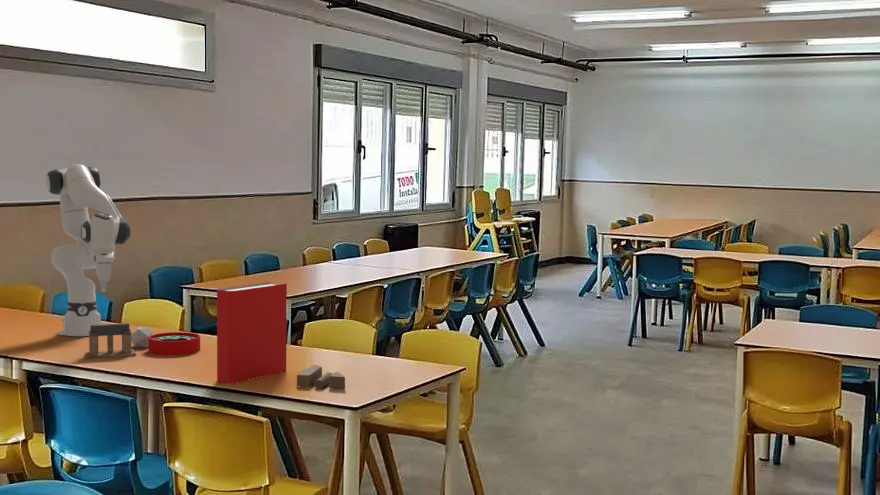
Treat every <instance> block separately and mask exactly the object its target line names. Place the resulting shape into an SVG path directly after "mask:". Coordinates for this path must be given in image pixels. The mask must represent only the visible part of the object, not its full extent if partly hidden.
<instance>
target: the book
mask: <svg viewBox="0 0 880 495" xmlns="http://www.w3.org/2000/svg"><path fill="white" fill-rule="evenodd" d="M287 285H288V283H282V284H272V283H271V281H267V282H265V281H264V282H259V283H258V282H257V283H251V284H245V285H243V284H242V285H235V286H230V287H229V286H228V287H222V288H217V289H216V361H217V362H216V378H217V380H216V382H217V381H220V382H219V383H222V382H225V383H224V384H227V383H235V384H237V383H236V382H239V383H241V382H240V381H243V380H247V381H249V380H248V379H251V380H253V379H252V378H255V379H257V378H256V377H258V378H261V377H260V376H262V377H265V375H266V376H270V375H273V373H274V374H278V373H282V372H286V371H287V319H288V318H287V317H288V316H287V314H288V313H287V312H288V311H287V306H288V304H287V301H288V300H287V299H288V297H287V293H288V292H287V289H288V288H287ZM285 370H286V371H285ZM281 371H282V372H281ZM277 372H278V373H277ZM269 374H270V375H269ZM243 382H244V381H243Z"/></svg>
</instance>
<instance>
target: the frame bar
mask: <svg viewBox="0 0 880 495" xmlns="http://www.w3.org/2000/svg"><path fill="white" fill-rule="evenodd" d="M129 329H130V324H129V322H126V323H125V322H124V323H123V322H122V323H110V324H109V323H108V324H107V323H104V324H103V323H101V325H90V333H98V337H107V336H110V335H113V336H122V335H123V331H129Z"/></svg>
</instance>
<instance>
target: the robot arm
mask: <svg viewBox="0 0 880 495" xmlns="http://www.w3.org/2000/svg"><path fill="white" fill-rule="evenodd" d="M101 183H102V177H101V174H100V171H99V170H98V169H97V167H93V166H92V167H91V166H85V165H83V164H81V163H76V164H71V165H70V166H69V167H68V168H61V169H60V168H59V169H53V170H49V171H48V172H47V174H46V176H45V186H46V189H47V190H48V192H49V193H50V194H52V195H57V196H59V195H60V197H59V198H60V199H59V207H60V210H59V211H60V216H61V224H62V229H63V233H65V234H66V235H67V236H69V237H71V238H73V239H74V241H75V243H76V244H66V245H60V246H57V247H54V249H52V252H51V254H50V262H51V265H52V266H53V267H54V268H55V269H56V270H57V271H59V273H61V274H62V276H63V277H64V279H65V282H66V285H67V286H66V287H67V299H68V301H66V302H67V303H66V308H67V312H66V313H65V314H64V315H63V317H62V327H63V328H62V329H61V330H60V331H59V333H58V335H59V336H68V337H89V331H90V325H102V323H101V321H102V320H101V316H102V315H101V313H99V312H98V311H97V309H98V304H97V299H96V284H95V282H94V281H93V280H92V279H90V278H88V277H86V275H85V272H84V270H93V269H96V276H97V279H98V283H99V286H98V288H100V292H101V293H107V286H108V284H107V283H110V281H111V274H112V265H113V264H112V263H114V260H116V245H124V244H125V243H126V242H127V241H128V240H129V239H130V238H131V226H130V225H129V223H128V222H127V221H126V220H125V218H124V217H123V216H122V214H121V213H120V210H119V209H118V207H117V206H116V204H115V203H114V201H113V200H112V198H111V197H110V195H109V194H107V193H106V192H104V191H102V189H100V187H101ZM89 209H93V210H96V211H99V212H98V213H94V214H93V215H92V218H91V219H90V215H89Z"/></svg>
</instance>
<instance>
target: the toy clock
mask: <svg viewBox="0 0 880 495" xmlns="http://www.w3.org/2000/svg"><path fill="white" fill-rule="evenodd" d="M147 347H148V349H147V350H148V353H149V354H151V355H155V356H164V355H166V356H167V357H168V355H176V356H186V354H187V355H193V354H196V353H198V352H200V351H201V335H200V334H198V333H194V332H186V331H185V332H182V331H173V332H172V331H171V332H169V331H168V332H160V333H156V334H152V335H151V336H149V337H148V346H147ZM192 353H193V354H192Z"/></svg>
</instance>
